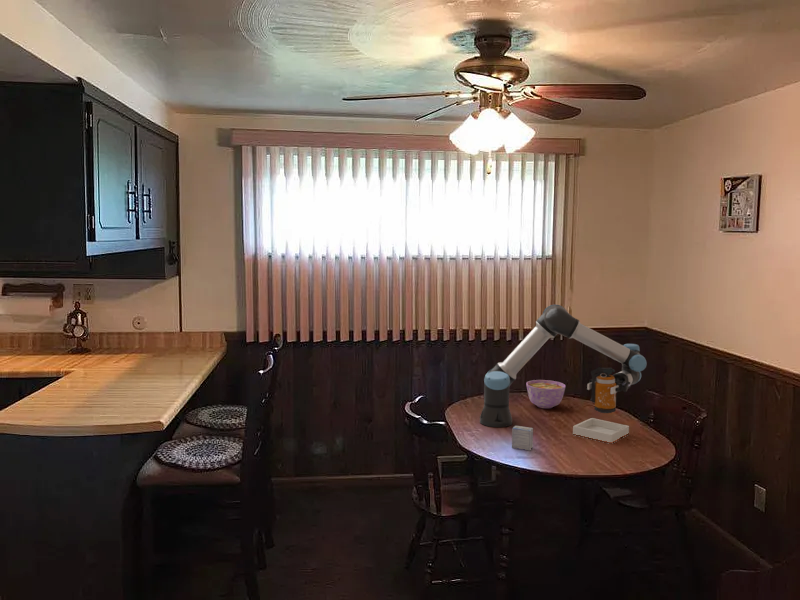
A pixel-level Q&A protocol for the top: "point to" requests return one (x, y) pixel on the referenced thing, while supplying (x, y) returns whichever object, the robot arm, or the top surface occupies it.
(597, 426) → the tray
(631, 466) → the top surface
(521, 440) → the medicine box
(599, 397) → the canister
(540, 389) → the bowl of food
